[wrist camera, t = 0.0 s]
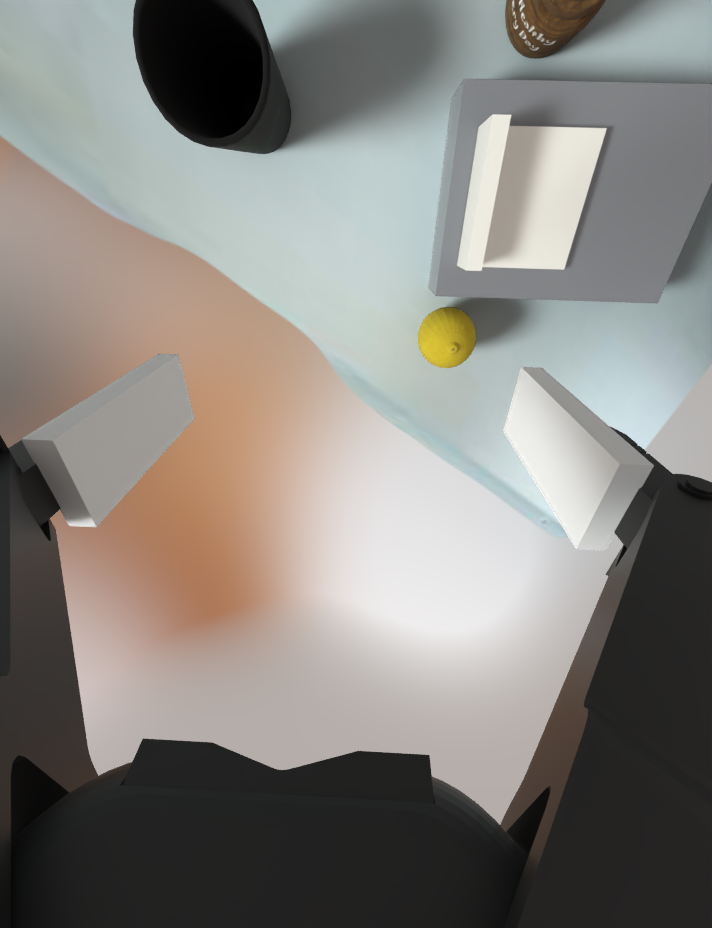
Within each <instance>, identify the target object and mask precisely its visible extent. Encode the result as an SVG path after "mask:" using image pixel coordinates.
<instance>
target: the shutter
mask: <svg viewBox="0 0 712 928" xmlns="http://www.w3.org/2000/svg"><path fill="white" fill-rule="evenodd" d="M510 119H511V115H499V114H493V115H491V116H490V117H489V118H488V119H487V120H486V121H485V122H484V123H482V124H481V125H480V126H479V128H478V134H477V141H476V147H475V154H474V160H473V166H472V173H471V179H470V185H469V192H468V198H467V205H466V211H465V217H464V224H463V230H462V236H461V243H460V249H459V256H458V262H457V266H459V267H461V268H462V269H464V270H466V271H482V267H496V268H528V269H560V270H564V268H565V265H566V262H567V259H568V255H569V252H570V249H571V245H572V242H573V239H574V235H575V232H576V229H577V225H578V222H579V219H580V216H581V212H582V209H583V206H584V202H585V199H586V196H587V192H588V189H589V186H590V182H591V179H592V176H593V172H594V169H595V166H596V163H597V159H598V156H599V153H600V149H601V146H602V143H603V139H604V136H605V133H606V129H607V128H579V127H538V126H509V125H510Z"/></svg>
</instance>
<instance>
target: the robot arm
mask: <svg viewBox="0 0 712 928" xmlns="http://www.w3.org/2000/svg"><path fill="white" fill-rule="evenodd" d="M193 420H194V416H193V411H192V407H191V403H190V399H189V395H188V391H187V387H186V383H185V379H184V375H183V371H182V367H181V363H180V358H179V355H178V354H177V355H176V354H158V355H156V356H155V357H153V358H151V359H150V360H148V361H146V362H145V363H143V364H142V365H140V366H138V367H137V368H135V369H134V370H132V371H130V372H129V373H127V374H126V375H124V376H122V377H121V378H119V379H118V380H116V381H114V382H113V383H111V384H109V385H108V386H106V387H104V388H103V389H101V390H100V391H98V392H96V393H95V394H93V395H92V396H90V397H89V398H87V399H85V400H83V401H82V402H80V403H79V404H77V405H75V406H74V407H72V408H71V409H69V410H67V411H66V412H64V413H62V414H61V415H59V416H58V417H56V418H54V419H53V420H51V421H50V422H48V423H46V424H45V425H43V426H42V427H40V428H38V429H37V430H35V431H34V432H32V433H30V434H29V435H27V436H25V437H24V438H22V439H21V441H19V442H18V443H16V444H14V445H13V446H11V447H10V448H7V446H6V444H5V442H4V441H3V439H2V438H1V436H0V928H712V483H711V482H709V481H706V480H704V479H701V478H698V477H694V476H690V475H683V474H672V473H671V472H670V471H669V470H667V469H666V468H665V467H664V466H663V465H661V464H660V463H659V462H658V461H657V460H656V459H654V458H653V457H652V456H651V455H650V454H646V451H645V450H644V449H642V448H641V447H640V446H637V443H635V442H634V441H633V440H632V439H631V438H629V437H628V436H627V435H626V434H624V433H622V432H620V431H618V430H616V429H614V428H612V427H609V426H608V425H607V424H606V423H605V422H604V421H602V420H601V419H600V418H599V417H598V416H597V415H595V414H594V413H593V412H592V411H591V410H590V409H589V408H587V407H586V406H585V405H584V404H583V403H582V402H581V401H579V400H578V399H577V398H576V397H575V396H574V395H573V394H571V393H570V392H569V391H568V390H567V389H566V388H564V387H563V386H562V385H561V384H560V383H559V382H558V381H556V380H555V379H554V378H553V377H552V376H551V375H550V374H548V373H547V372H546V371H545V370H544V369H543V368H533V367H521V370H520V374H519V378H518V381H517V385H516V388H515V392H514V395H513V399H512V402H511V406H510V410H509V413H508V417H507V420H506V424H505V427H504V433H505V435H506V436H507V438H508V439H509V441H510V443H511V444H512V446H513V448H514V449H515V451H516V452H517V454H518V456H519V457H520V459H521V460H522V462H523V464H524V465H525V467H526V469H527V470H528V472H529V473H530V475H531V477H532V478H533V480H534V481H535V483H536V485H537V486H538V488H539V490H540V491H541V493H542V494H543V496H544V498H545V499H546V501H547V502H548V504H549V506H550V507H551V509H552V511H553V512H554V514H555V515H556V517H557V519H558V520H559V522H560V523H561V525H562V527H563V528H564V530H565V532H566V533H567V535H568V536H569V538H570V540H571V541H572V543H573V544H574V546H575V548H576V549H582V550H606V548H607V546H608V545H609V543H610V541H611V539H612V538H613V536H614V534H616V535H617V536H618V538H619V539H620V540H621V541H622V543H623V544H624V545H623V547H622V549H621V550H620V552H619V553H618V555H617V557H616V558H615V560H614V562H613V563H612V565H611V567H610V568H609V570H608V571H607V573H606V575H608V576H609V577H608V579H607V581H606V584H605V586H604V589H603V591H602V594H601V596H600V598H599V601H598V603H597V605H596V608H595V610H594V612H593V615H592V617H591V620H590V622H589V625H588V627H587V629H586V632H585V634H584V637H583V639H582V641H581V644H580V646H579V649H578V651H577V653H576V656H575V658H574V660H573V663H572V665H571V667H570V670H569V672H568V675H567V677H566V680H565V682H564V684H563V687H562V689H561V691H560V694H559V696H558V699H557V701H556V703H555V706H554V708H553V711H552V713H551V716H550V718H549V720H548V722H547V725H546V727H545V730H544V732H543V735H542V737H541V739H540V742H539V744H538V747H537V749H536V751H535V754H534V756H533V759H532V761H531V763H530V766H529V768H528V770H527V773H526V775H525V777H524V780H523V781H522V783H521V785H520V787H519V789H518V791H517V793H516V795H515V796H514V798H513V800H512V802H511V804H510V806H509V808H508V810H507V812H506V814H505V816H504V818H503V820H502V823H501V825H499V824H498V823H497V822H496V821H495V819H493V818H492V817H491V816H490V815H489V814H488V813H487V812H486V811H485V810H484V809H483V808H482V807H480V806H479V805H478V804H477V803H476V802H474V801H473V800H472V799H470V798H469V797H468V796H466V795H465V794H464V793H462V792H461V791H459V790H458V789H456V788H454V787H452V786H450V785H449V784H447V783H445V782H443V781H441V780H439V779H436V778H434V777H432V776H431V768H430V758H429V755H418V754H401V753H382V752H364V751H357V752H353V753H349V754H345V755H342V756H338V757H334V758H330V759H326V760H323V761H319V762H315V763H311V764H308V765H304V766H300V767H296V768H292V769H289V770H277V769H274V768H271V767H269V766H266V765H264V764H262V763H259V762H257V761H255V760H252V759H250V758H247V757H245V756H243V755H240V754H238V753H236V752H233V751H231V750H228V749H226V748H224V747H221V746H219V745H217V744H214V743H209V742H190V741H173V740H155V739H143V740H142V742H141V744H140V746H139V749H138V751H137V753H136V755H135V758H134V760H133V762H132V763H128V764H125V765H122V766H120V767H117V768H115V769H112V770H109V771H107V772H105V773H103V774H101V775H100V776H98V774H97V772H96V770H95V768H94V766H93V763H92V761H91V758H90V755H89V751H88V746H87V739H86V733H85V726H84V719H83V712H82V705H81V700H80V692H79V685H78V678H77V671H76V665H75V658H74V652H73V644H72V637H71V631H70V624H69V617H68V610H67V603H66V597H65V590H64V583H63V576H62V569H61V562H60V556H59V549H58V542H57V535H56V529H55V527H54V526H53V524H52V522H51V520H50V518H51V517H52V516H53V515H54V514H55V513H56V512H57V511H58V510H59V509H60V510H61V512H62V514H63V516H64V517H65V519H66V521H67V523H68V525H69V526H83V527H97V526H98V525H99V524H100V523H101V522H102V520H103V519H104V518H105V517H106V516H107V515H108V514H109V513H110V511H111V510H112V509H113V508H114V507H115V506H116V505H117V504H118V503H119V502H120V501H121V499H122V498H123V497H124V496H125V495H126V494H127V493H128V492H129V490H130V489H131V488H132V487H133V486H134V485H135V484H136V483H137V482H138V481H139V479H140V478H141V477H142V476H143V475H144V474H145V473H146V472H147V471H148V470H149V468H150V467H151V466H152V465H153V464H154V463H155V462H156V461H157V460H158V458H159V457H160V456H161V455H162V454H163V453H164V452H165V451H166V450H167V448H168V447H169V446H170V445H171V444H172V443H173V442H174V441H175V440H176V439H177V438H178V436H179V435H180V434H181V433H182V432H183V431H184V430H185V429H186V427H187V426H188V425H189V424H190V423H191V422H192V421H193Z"/></svg>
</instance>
